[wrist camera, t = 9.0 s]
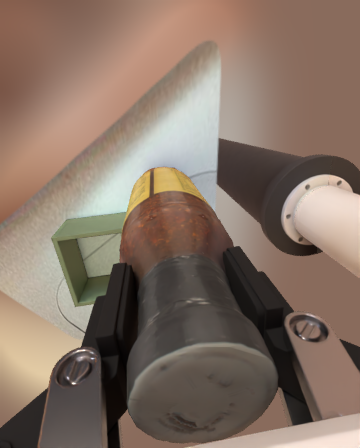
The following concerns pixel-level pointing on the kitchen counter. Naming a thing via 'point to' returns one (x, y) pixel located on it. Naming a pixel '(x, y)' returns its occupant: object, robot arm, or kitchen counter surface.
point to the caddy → (71, 258)
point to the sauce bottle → (188, 320)
